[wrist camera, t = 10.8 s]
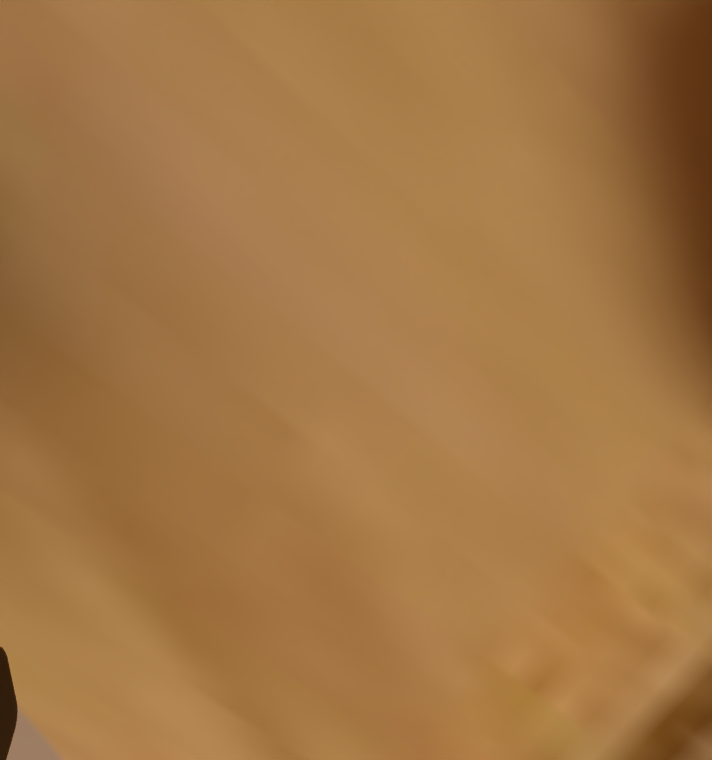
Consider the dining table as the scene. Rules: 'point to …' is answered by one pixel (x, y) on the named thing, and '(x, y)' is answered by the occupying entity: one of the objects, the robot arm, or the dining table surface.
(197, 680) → the dining table surface
